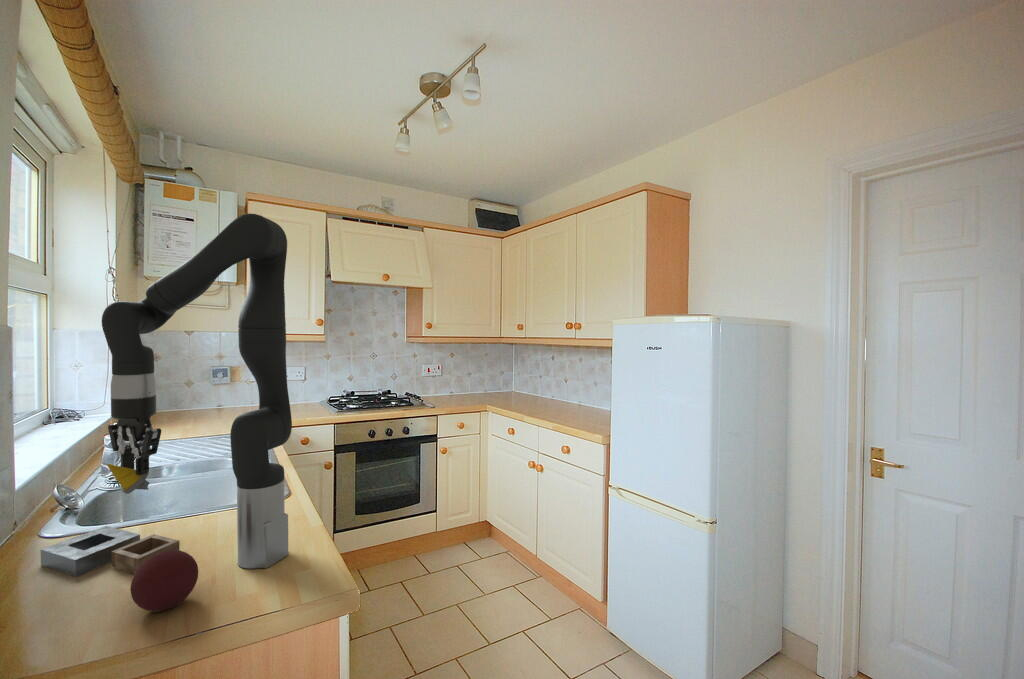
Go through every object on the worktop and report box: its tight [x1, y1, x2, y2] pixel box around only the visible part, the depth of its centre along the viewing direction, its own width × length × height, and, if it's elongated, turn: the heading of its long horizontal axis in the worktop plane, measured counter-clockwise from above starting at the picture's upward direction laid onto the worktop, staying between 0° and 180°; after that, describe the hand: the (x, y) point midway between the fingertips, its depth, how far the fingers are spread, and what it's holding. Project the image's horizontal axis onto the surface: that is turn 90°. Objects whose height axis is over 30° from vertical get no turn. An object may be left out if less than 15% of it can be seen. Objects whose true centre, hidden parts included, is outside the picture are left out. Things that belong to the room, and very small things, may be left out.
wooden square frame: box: [111, 533, 181, 575], centre depth 100 cm, size 8×8×4 cm
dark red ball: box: [129, 549, 199, 612], centre depth 84 cm, size 10×10×10 cm
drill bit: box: [106, 463, 150, 495], centre depth 98 cm, size 5×5×10 cm
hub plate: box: [40, 525, 141, 578], centre depth 101 cm, size 12×12×4 cm
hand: (135, 472), depth 99 cm, fingers closed on drill bit, 4 cm apart
